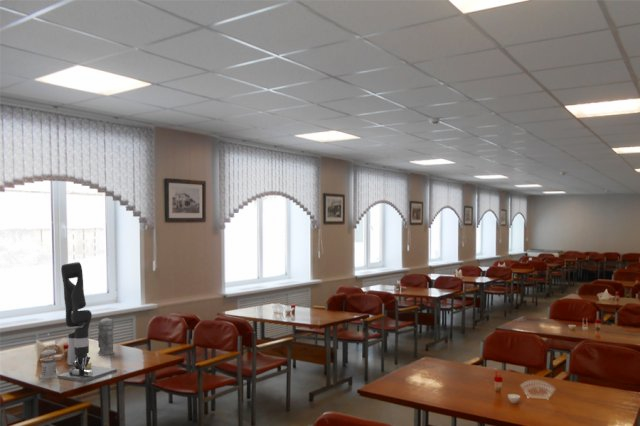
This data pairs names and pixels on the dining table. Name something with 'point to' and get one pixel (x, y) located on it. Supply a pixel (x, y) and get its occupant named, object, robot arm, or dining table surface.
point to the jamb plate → (96, 372)
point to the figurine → (105, 337)
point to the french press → (48, 364)
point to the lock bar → (76, 372)
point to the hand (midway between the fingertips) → (81, 375)
